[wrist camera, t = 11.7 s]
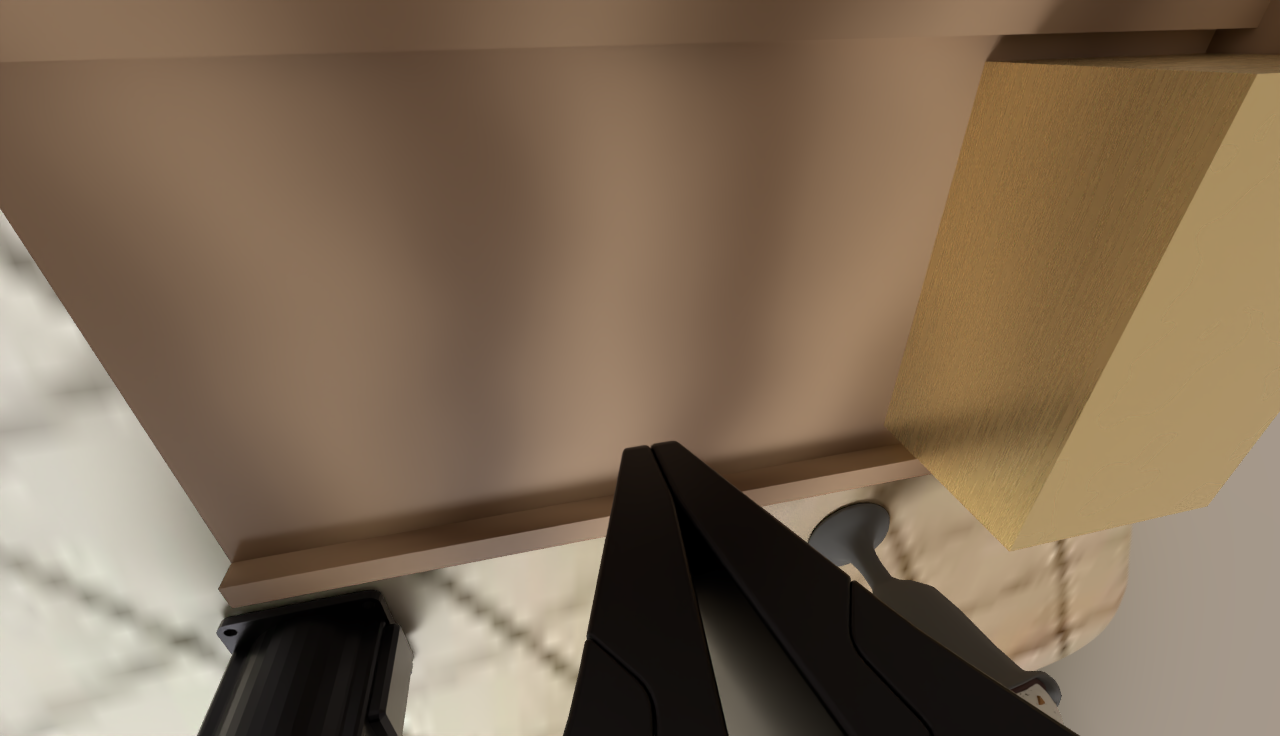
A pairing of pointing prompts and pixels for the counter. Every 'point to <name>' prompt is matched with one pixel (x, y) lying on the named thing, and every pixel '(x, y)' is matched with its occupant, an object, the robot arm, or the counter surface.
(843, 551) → the sundae
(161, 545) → the counter surface
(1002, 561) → the counter surface
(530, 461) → the wooden tray
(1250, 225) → the tan wood-grain block
